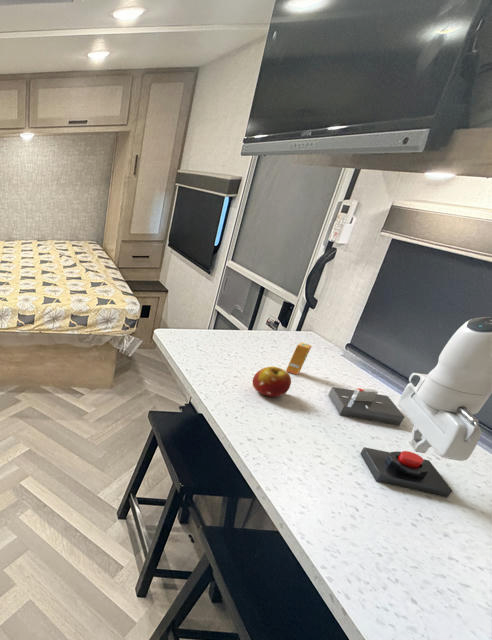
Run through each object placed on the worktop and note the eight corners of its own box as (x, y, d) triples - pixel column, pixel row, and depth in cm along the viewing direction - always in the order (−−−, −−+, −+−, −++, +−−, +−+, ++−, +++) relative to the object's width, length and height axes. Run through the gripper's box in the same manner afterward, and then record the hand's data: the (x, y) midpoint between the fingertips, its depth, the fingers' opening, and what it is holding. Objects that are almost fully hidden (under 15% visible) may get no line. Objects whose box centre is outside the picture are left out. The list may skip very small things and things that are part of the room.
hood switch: (424, 467, 92) (433, 454, 90) (447, 498, 84) (457, 484, 82) (359, 453, 96) (367, 440, 94) (375, 482, 88) (384, 468, 86)
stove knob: (369, 399, 111) (374, 388, 110) (373, 401, 110) (378, 391, 109) (350, 398, 112) (356, 387, 110) (354, 400, 111) (359, 390, 109)
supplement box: (297, 375, 129) (308, 348, 124) (285, 371, 132) (296, 344, 127) (300, 372, 131) (312, 345, 126) (288, 368, 133) (299, 341, 129)
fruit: (265, 402, 116) (274, 379, 112) (242, 386, 123) (249, 364, 120) (293, 399, 117) (303, 375, 113) (268, 383, 125) (277, 361, 121)
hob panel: (382, 404, 114) (388, 395, 113) (399, 426, 105) (405, 416, 104) (328, 395, 119) (332, 386, 117) (339, 415, 110) (344, 405, 109)
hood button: (415, 459, 89) (419, 453, 88) (422, 469, 86) (427, 463, 85) (394, 455, 90) (398, 449, 89) (401, 465, 87) (405, 459, 87)
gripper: (506, 428, 70) (462, 485, 77) (445, 375, 87) (413, 425, 93) (458, 420, 73) (420, 476, 79) (408, 369, 89) (379, 419, 96)
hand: (416, 448), depth 86 cm, fingers closed
